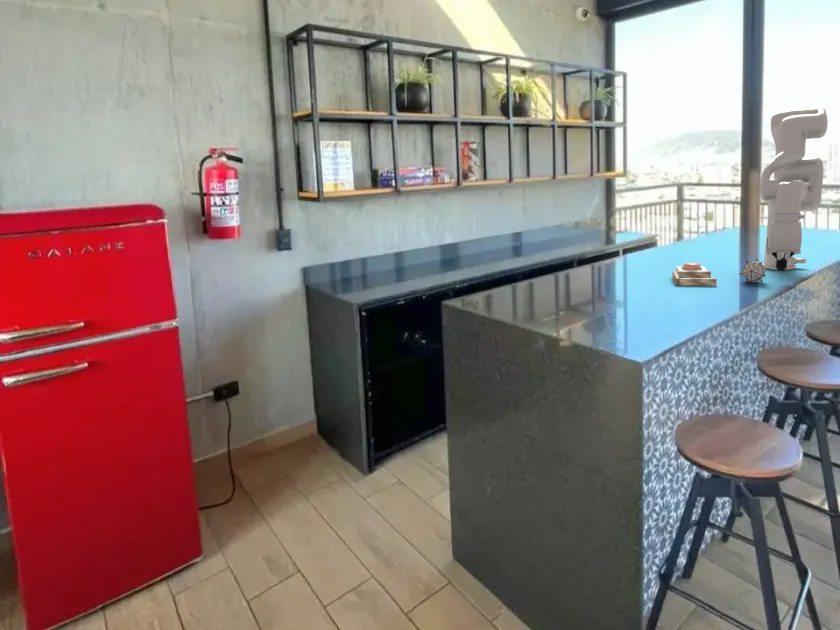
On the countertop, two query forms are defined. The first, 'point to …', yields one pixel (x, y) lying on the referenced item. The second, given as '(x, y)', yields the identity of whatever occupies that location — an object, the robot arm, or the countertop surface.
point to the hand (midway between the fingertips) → (780, 270)
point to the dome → (691, 266)
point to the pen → (694, 278)
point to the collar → (680, 268)
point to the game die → (754, 271)
